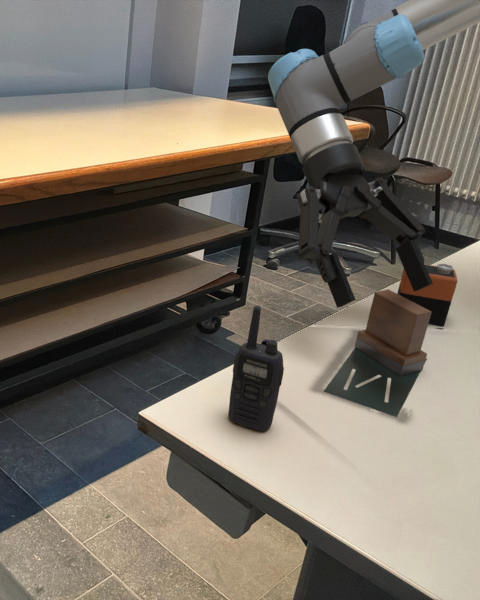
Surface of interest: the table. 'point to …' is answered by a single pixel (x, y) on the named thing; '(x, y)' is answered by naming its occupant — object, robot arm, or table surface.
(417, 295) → the battery
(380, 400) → the chalkboard
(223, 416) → the table surface
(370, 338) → the eraser
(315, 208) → the robot arm
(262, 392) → the two-way radio
